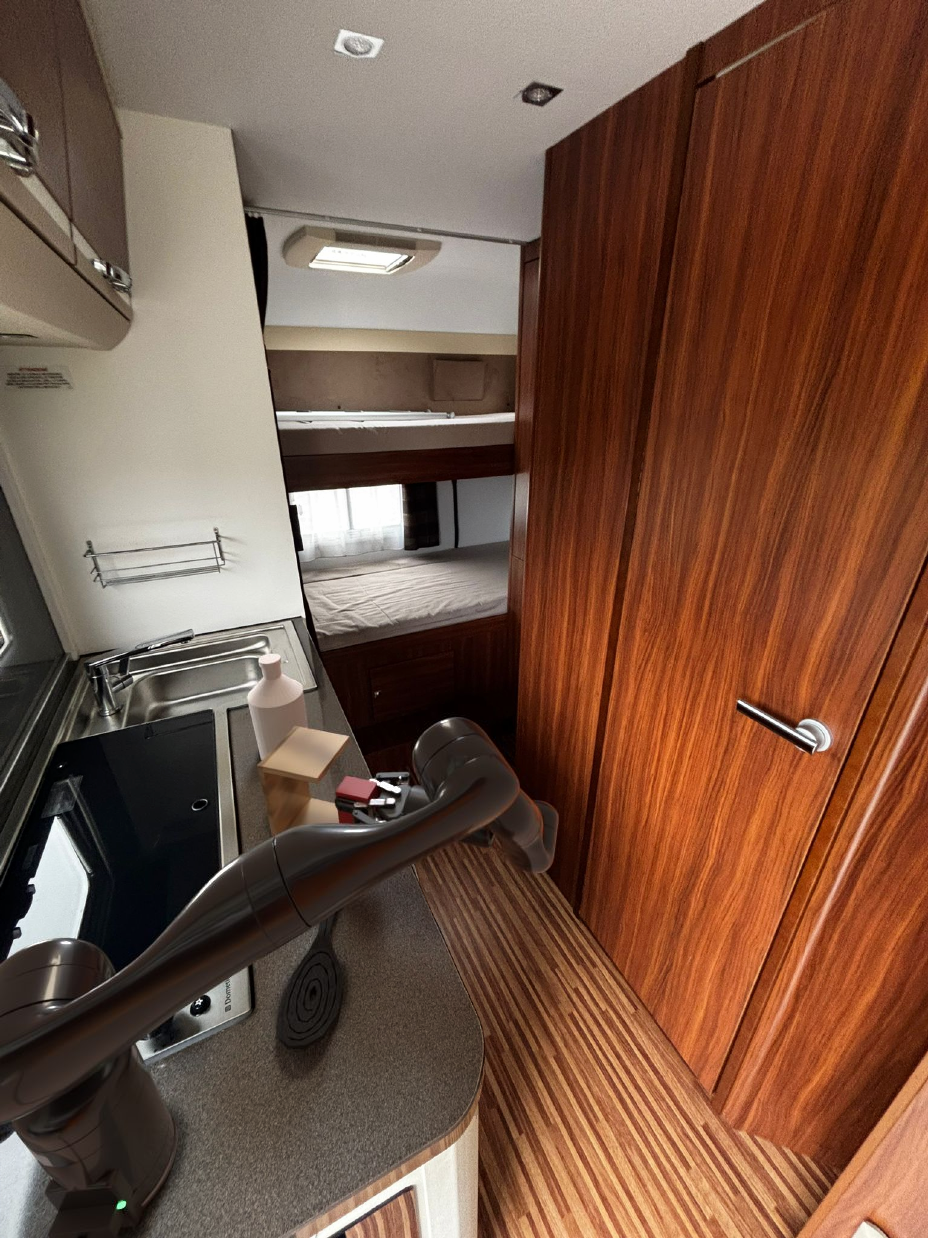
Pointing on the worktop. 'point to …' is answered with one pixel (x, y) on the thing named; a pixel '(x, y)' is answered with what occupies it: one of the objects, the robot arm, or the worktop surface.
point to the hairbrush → (307, 980)
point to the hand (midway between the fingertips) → (342, 792)
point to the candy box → (355, 794)
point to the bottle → (275, 705)
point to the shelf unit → (299, 778)
